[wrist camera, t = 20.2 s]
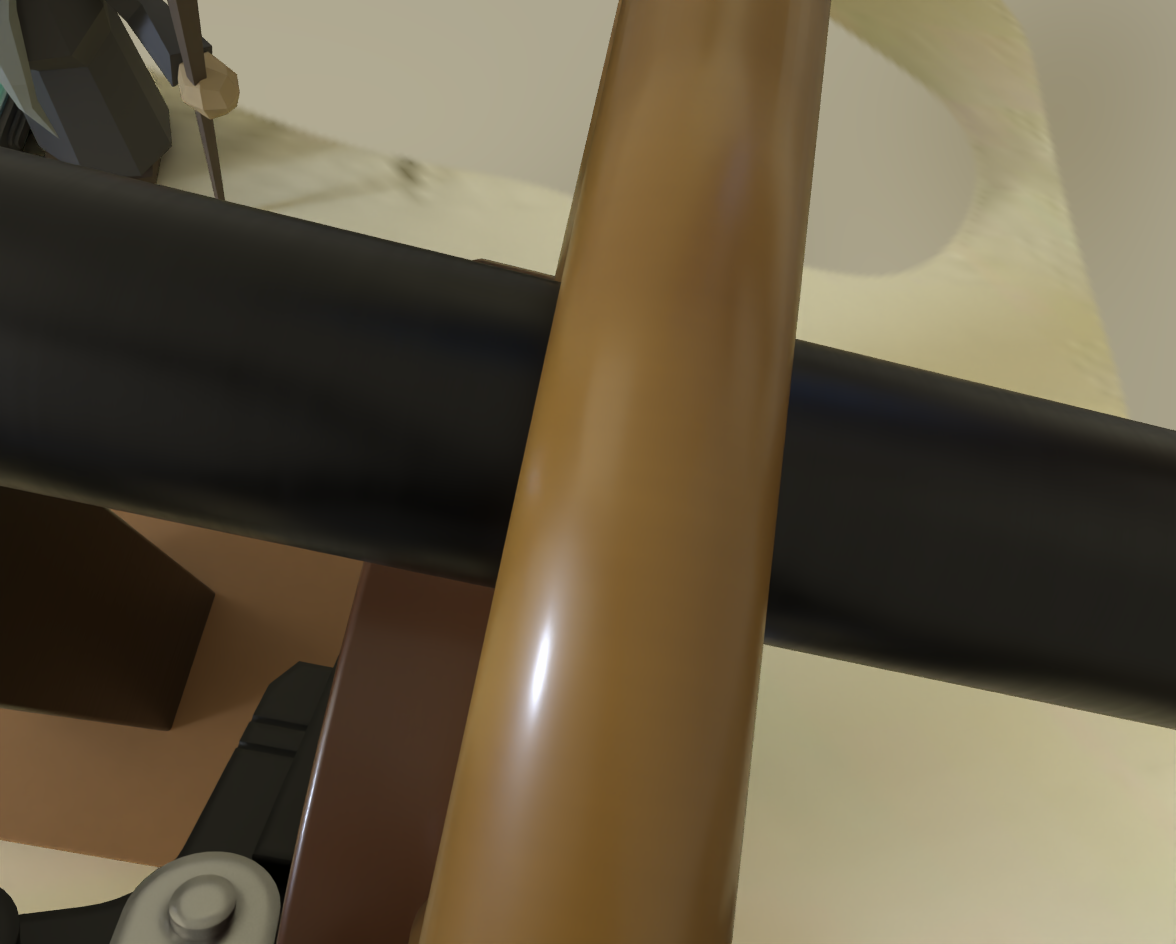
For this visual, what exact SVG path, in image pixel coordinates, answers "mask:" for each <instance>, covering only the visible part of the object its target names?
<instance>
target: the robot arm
mask: <svg viewBox="0 0 1176 944" xmlns="http://www.w3.org/2000/svg"><path fill="white" fill-rule="evenodd" d="M339 654H340V653H339ZM338 658H339V655H338ZM338 658H337V660H336V662H335V665H334V667H333V668H332V667H327V666H322V665H317V664H312V663H307V662H302V661H299V662H297V663H296V664H295V665H293V666H292V667H291V668H289V669H288V670H287V671H286V672H284V673H283V674H282V675H280V676H279V677H278V678H276V679H275V680H274V681H273V682H271V683H270V684H269V685H268V687H267V689H266V691H265V693H264V695H263V697H262V698H261V700H260V702H259V704H258V706H257V708H256V710H255V712H254V714H253V717H252V720H251V721H249V723H248V725H247V727H246V729H245V731H244V733H243V735H242V737H241V739H240V740H239V744H238V747H237V748H235V750H234V752H233V754H232V756H231V758H230V759H229V761H228V763H227V765H226V767H225V769H224V771H223V773H222V775H221V777H220V779H219V780H218V782H217V784H216V786H215V788H214V790H213V792H212V794H211V796H210V798H209V800H208V801H207V803H206V805H205V807H204V809H203V811H202V813H201V815H200V817H199V819H198V820H197V822H196V824H195V826H194V828H193V830H192V832H191V834H190V836H189V838H188V840H187V841H186V843H185V845H184V847H183V848H182V850H181V852H180V853H179V855H178V856H177V858H176V859H175V860H174V861H171V862H169V863H167V864H165V865H164V866H162V867H160V868H158V869H157V870H155V871H154V872H153V873H151V874H150V875H149V876H148V877H146V878H145V879H144V880H143V881H142V882H141V883H140V884H139V885H138V886H137V887H136V889H135V890H134V891H133V892H132V893H130V894H127V895H125V896H122V897H120V898H117V899H115V900H111V901H108V902H104V903H101V904H96V905H91V906H85V907H78V908H69V909H61V910H53V911H45V912H37V913H29V914H20V915H18V911H17V907H16V905H15V903H14V902H13V900H12V898H11V897H10V896H9V895H8V894H7V893H6V892H5V891H4V890H3V889H2V888H0V944H276V941H277V936H278V930H279V925H280V919H281V913H282V908H283V903H284V898H285V893H286V888H287V883H288V878H289V874H290V869H291V864H292V859H293V854H294V849H295V844H296V839H297V834H298V829H299V825H300V820H301V816H302V811H303V807H304V802H305V798H306V794H307V789H308V785H309V780H310V776H311V771H312V767H313V762H314V758H315V753H316V749H317V745H318V740H319V736H320V732H321V728H322V724H323V719H324V715H325V711H326V707H327V703H328V699H329V695H330V691H331V687H332V682H333V678H334V674H335V670H336V666H337V662H338Z"/></svg>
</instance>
